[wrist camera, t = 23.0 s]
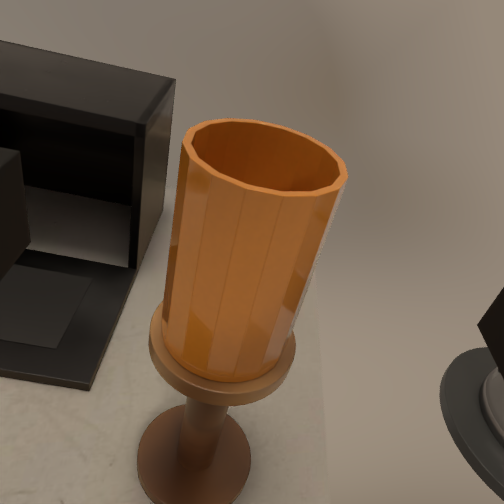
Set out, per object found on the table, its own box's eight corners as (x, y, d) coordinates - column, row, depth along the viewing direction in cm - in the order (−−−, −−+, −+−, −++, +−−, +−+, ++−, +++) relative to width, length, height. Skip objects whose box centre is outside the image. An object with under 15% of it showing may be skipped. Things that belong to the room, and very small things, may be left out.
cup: (284, 300, 31) (338, 137, 24) (285, 393, 25) (358, 211, 18) (174, 280, 31) (197, 106, 24) (147, 370, 24) (167, 172, 17)
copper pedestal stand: (251, 418, 41) (294, 295, 32) (245, 527, 33) (298, 406, 25) (151, 402, 40) (166, 271, 31) (122, 509, 33) (132, 378, 24)
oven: (163, 210, 65) (177, 68, 53) (89, 391, 40) (85, 198, 28) (-25, 172, 63) (-52, 17, 51) (-226, 338, 38) (-369, 108, 26)
